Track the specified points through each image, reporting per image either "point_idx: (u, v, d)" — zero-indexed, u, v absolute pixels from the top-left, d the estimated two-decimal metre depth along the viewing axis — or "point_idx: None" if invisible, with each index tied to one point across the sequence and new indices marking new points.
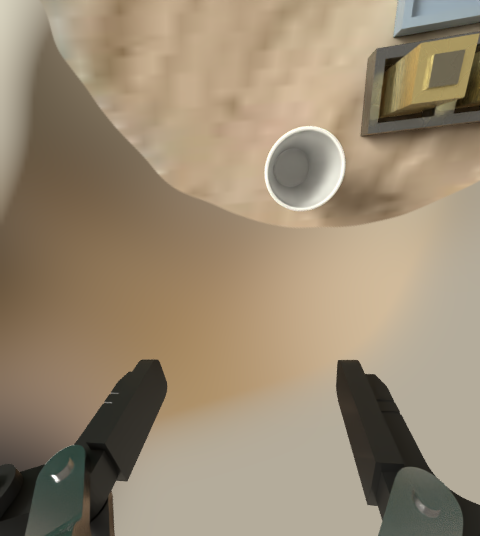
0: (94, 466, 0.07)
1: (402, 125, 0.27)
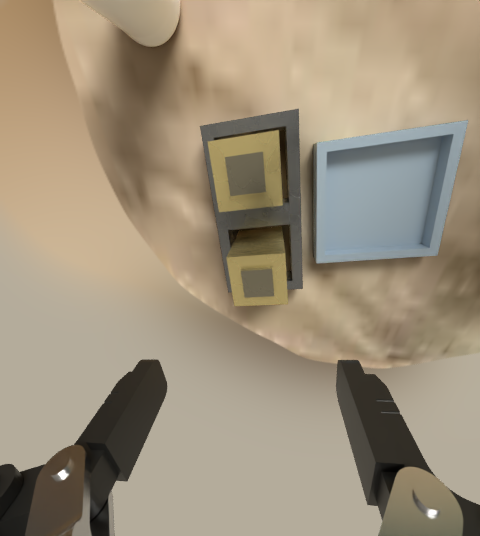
0: (94, 466, 0.07)
1: None
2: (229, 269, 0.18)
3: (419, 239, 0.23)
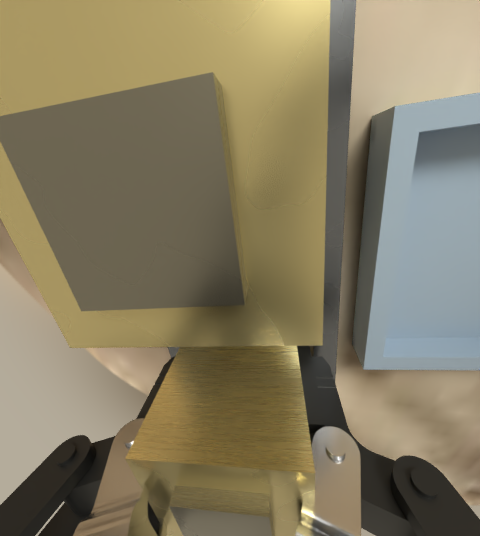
0: None
1: None
2: (140, 481, 0.06)
3: None
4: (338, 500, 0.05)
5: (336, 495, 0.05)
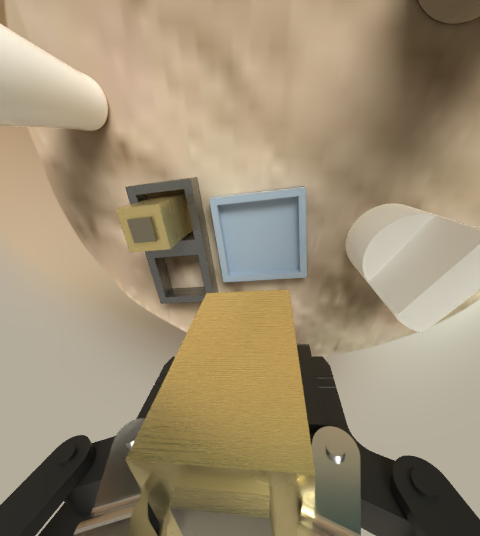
0: None
1: None
2: (140, 483, 0.06)
3: (297, 264, 0.31)
4: (338, 500, 0.05)
5: (336, 495, 0.05)
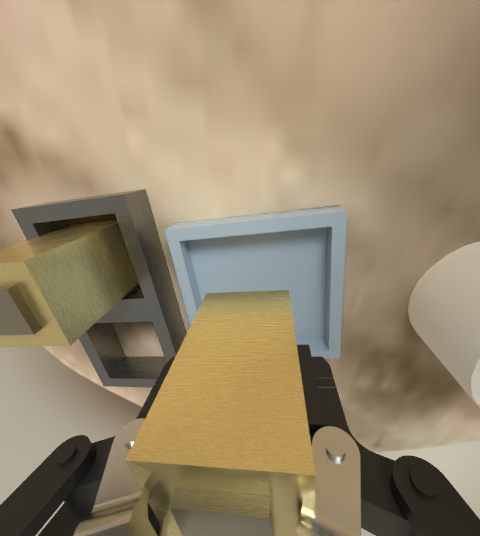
0: None
1: None
2: (140, 483, 0.06)
3: (322, 334, 0.18)
4: (338, 500, 0.05)
5: (336, 495, 0.05)
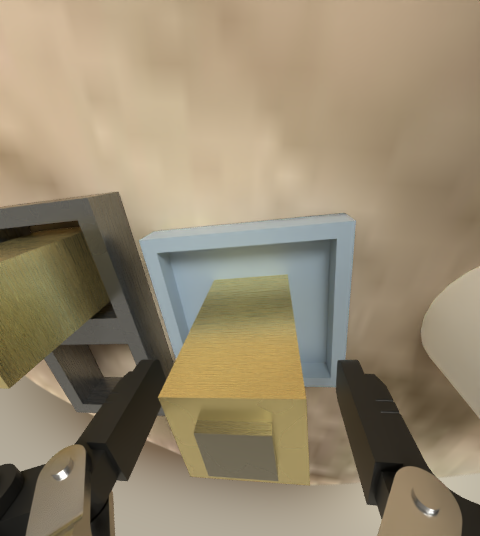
0: (95, 466, 0.07)
1: None
2: (169, 419, 0.08)
3: (322, 357, 0.16)
4: None
5: None
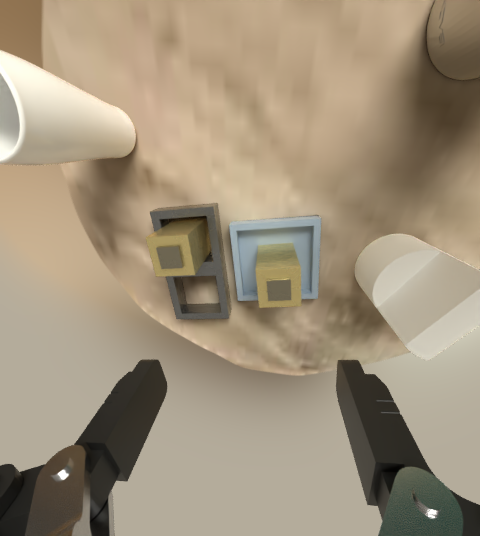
0: (94, 466, 0.07)
1: None
2: (257, 279, 0.24)
3: (308, 286, 0.32)
4: None
5: None
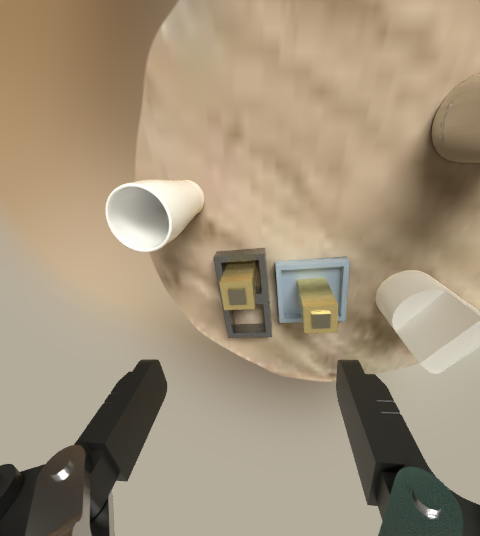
0: (94, 466, 0.07)
1: (220, 278, 0.38)
2: (304, 313, 0.32)
3: None
4: None
5: None
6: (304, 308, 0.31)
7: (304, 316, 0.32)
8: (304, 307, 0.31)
